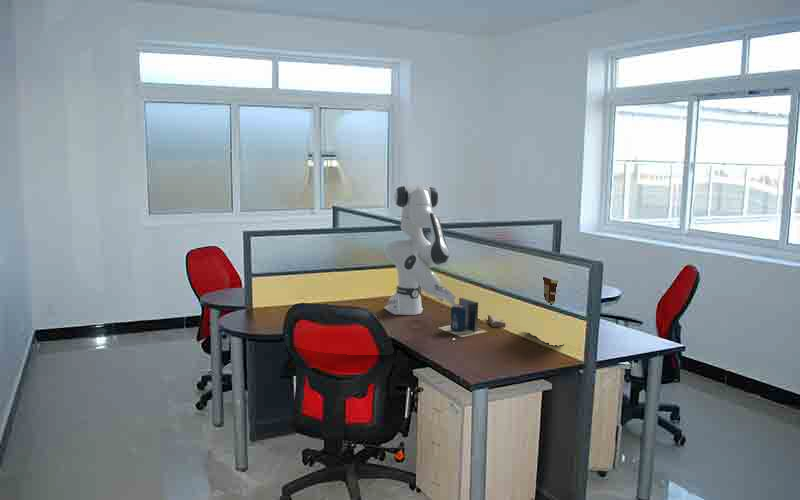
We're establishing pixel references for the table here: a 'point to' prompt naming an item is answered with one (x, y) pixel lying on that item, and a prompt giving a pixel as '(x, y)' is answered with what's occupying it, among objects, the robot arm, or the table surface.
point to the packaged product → (496, 322)
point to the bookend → (470, 314)
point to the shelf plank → (461, 334)
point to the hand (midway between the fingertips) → (447, 302)
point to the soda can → (458, 318)
